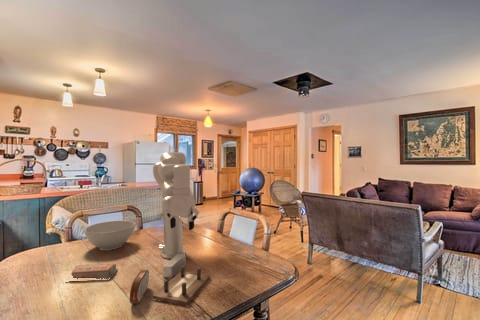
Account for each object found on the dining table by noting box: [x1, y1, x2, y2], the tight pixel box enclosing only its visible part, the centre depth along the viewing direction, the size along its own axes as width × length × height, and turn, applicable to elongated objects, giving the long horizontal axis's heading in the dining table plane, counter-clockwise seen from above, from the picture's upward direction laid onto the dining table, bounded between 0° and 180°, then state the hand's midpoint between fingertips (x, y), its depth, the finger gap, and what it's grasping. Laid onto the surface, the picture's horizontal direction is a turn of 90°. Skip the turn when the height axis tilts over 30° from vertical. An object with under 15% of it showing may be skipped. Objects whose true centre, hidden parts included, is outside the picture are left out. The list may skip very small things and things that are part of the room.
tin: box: [129, 269, 150, 304], centre depth 92 cm, size 15×3×8 cm, turn 5°
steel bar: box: [162, 253, 187, 279], centre depth 114 cm, size 4×14×5 cm, turn 167°
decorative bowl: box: [83, 219, 136, 251], centre depth 145 cm, size 27×27×12 cm
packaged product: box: [71, 263, 119, 279], centre depth 109 cm, size 18×5×10 cm
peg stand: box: [152, 265, 211, 307], centre depth 98 cm, size 14×20×6 cm
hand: (182, 228), depth 114 cm, fingers open, 9 cm apart
